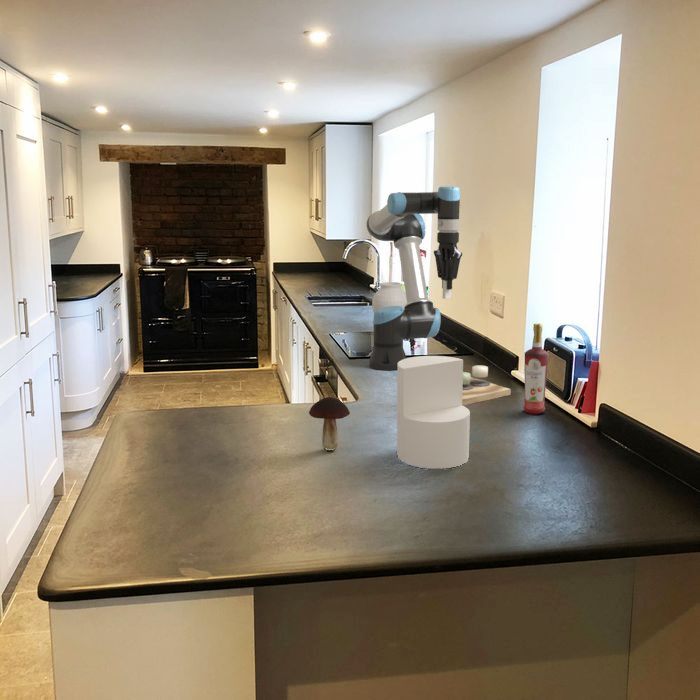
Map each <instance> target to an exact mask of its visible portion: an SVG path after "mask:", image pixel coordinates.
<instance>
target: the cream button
mask: <svg viewBox="0 0 700 700" xmlns="http://www.w3.org/2000/svg"><path fill="white" fill-rule="evenodd" d="M488 374H489V367H488V366H486V365H481V364H480V365H473V366H471V377H473V378H477V379H480V378H487V377H488V376H489V375H488Z"/></svg>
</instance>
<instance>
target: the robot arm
mask: <svg viewBox="0 0 700 700" xmlns="http://www.w3.org/2000/svg"><path fill="white" fill-rule="evenodd" d="M460 190H461V189H460V187H459V186H440V187H438V190H437V191H432V192H431V191H430V192H429V191H426V192H401V191H400V192H392V193H390V194H389V195H388V197H387V199H386V200H387V201H386V205H384V206H383V207H382V208H381V209H380V210H377V211H374V212H373V213H371V214H370V215H369V216H368V218H367V220H366V231H367V232H368V233H369V235H370V236H371V237H373V238H374V239H376V240H378V241H382V242H383V241H384V242H393V246H394V248H395V249H397V250H398V254H399V255H398V256H399V262H400V266H401V272H402V273H401V274H402V279H403V284H404V285H403V286H404V291H405V292H406V298H407V304H406V305H405V307H404V309H403V307H401V306H389V307H384V308H380V309H378V310H376V311H375V313H374V312H373V321H372V323H373V346H372V347H373V348H372V350H371V354H370V358H369V360H368V361H369V362H368V364H369V365H368V366H369V367H370V368H372V369H374V370H381V371H395V370H397V371H398V362H399V361H401V360H403V359H406V358H407V356H406V352H405V349H404V340H410V339H413V340H414V339H427V338H434V337H435V336H437V334H439V331H440V328H441V323H442V322H441V321H442V319H441V318H442V316H441V311H440V309H439V308H437V307H435V306H434V302H433V301H432V300H430V299H429V296H428V295H429V294H428V289H427V285H426V284H427V283H426V278H425V272H424V266H423V261H422V253H421V249H420V246H421V244H422V243H423V240H424V239H425V236H426V224H425V223H426V222H425V220H424V218H423V216H422V214H423V215H429V214H430V215H431V214H433V215H435V214H437V231H438V232H436V233H437V236H436V238H437V239H436V242H437V243H438V246H437V247H438V249H436V250H433V255H434V257H435V263H436V265H435V266H436V271H437V277H438V278H440V279H441V289H442V299H443V300H448V299H449V300H450V299H452V290H453V280H457V278H458V274H459V268H460V267H459V266H460V261H461V258H462V256H463V252H459V249H458V245H457V244H458V243H459V241H460V233H459V231H460V209H461V208H460V206H461V205H460V203H461V191H460Z"/></svg>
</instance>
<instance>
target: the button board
mask: <svg viewBox="0 0 700 700" xmlns="http://www.w3.org/2000/svg"><path fill="white" fill-rule="evenodd" d="M511 393H512V389H511V388H508V387H505V386H501V385H498V384H496V383H492V382H490V381H489V380H487V379H486V380H485V379H480V378H477V377H473V376H471V379H470V384H463V391H462V406H466V405H471V404H475V403H480V402H484V401H489V400H495V399H499V398H501V397H502V398H503V397H506V396H511V395H512V394H511Z"/></svg>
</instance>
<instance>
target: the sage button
mask: <svg viewBox="0 0 700 700" xmlns="http://www.w3.org/2000/svg"><path fill="white" fill-rule="evenodd" d="M471 377H472V373H470V372H466V371H463V384H470V379H471Z"/></svg>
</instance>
